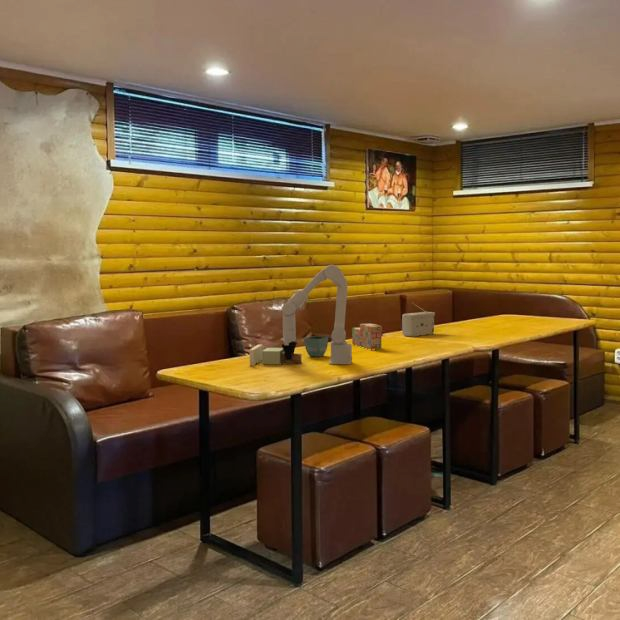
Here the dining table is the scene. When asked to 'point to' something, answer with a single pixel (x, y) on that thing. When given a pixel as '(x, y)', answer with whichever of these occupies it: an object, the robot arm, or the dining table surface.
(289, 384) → the dining table surface
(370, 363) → the dining table surface
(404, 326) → the stereo radio cassette player
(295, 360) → the brown collared bar
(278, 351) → the block
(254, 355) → the wall
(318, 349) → the flower pot
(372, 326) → the stack of blocks
